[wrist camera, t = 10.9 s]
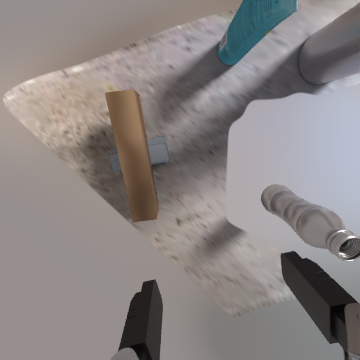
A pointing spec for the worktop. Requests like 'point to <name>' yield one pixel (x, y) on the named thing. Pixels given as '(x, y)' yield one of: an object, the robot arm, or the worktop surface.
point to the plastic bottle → (312, 222)
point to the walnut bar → (133, 153)
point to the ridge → (156, 152)
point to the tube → (252, 26)
